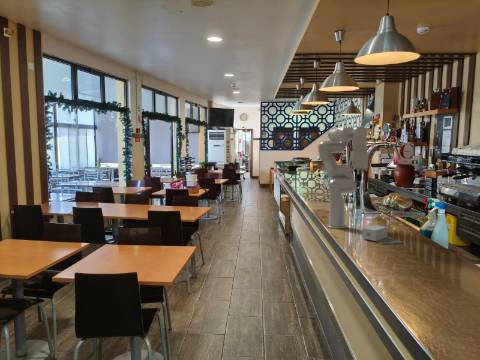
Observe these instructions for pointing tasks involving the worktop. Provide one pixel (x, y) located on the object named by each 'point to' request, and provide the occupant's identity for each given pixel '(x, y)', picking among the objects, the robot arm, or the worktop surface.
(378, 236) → the small box
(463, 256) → the worktop surface
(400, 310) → the worktop surface
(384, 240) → the mat
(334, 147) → the robot arm
